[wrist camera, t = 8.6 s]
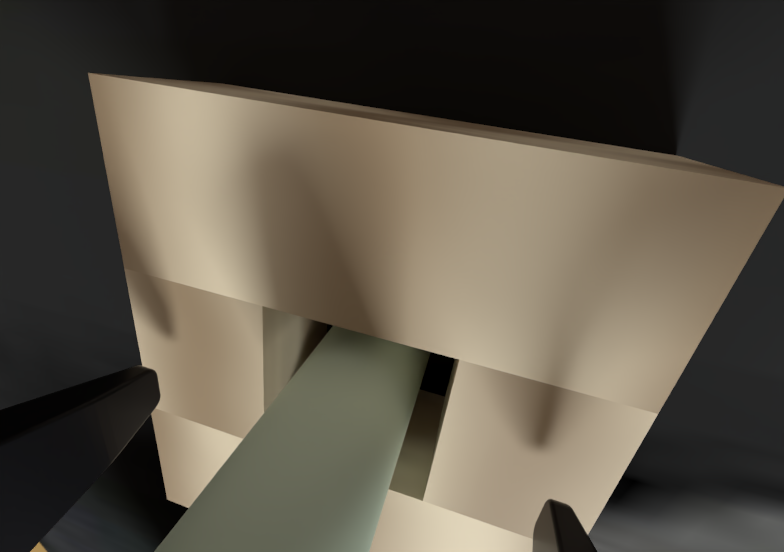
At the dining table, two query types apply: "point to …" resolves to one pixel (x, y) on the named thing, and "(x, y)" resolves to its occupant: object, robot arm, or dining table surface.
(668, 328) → the hole board
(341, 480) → the peg
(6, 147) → the dining table surface
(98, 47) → the dining table surface
